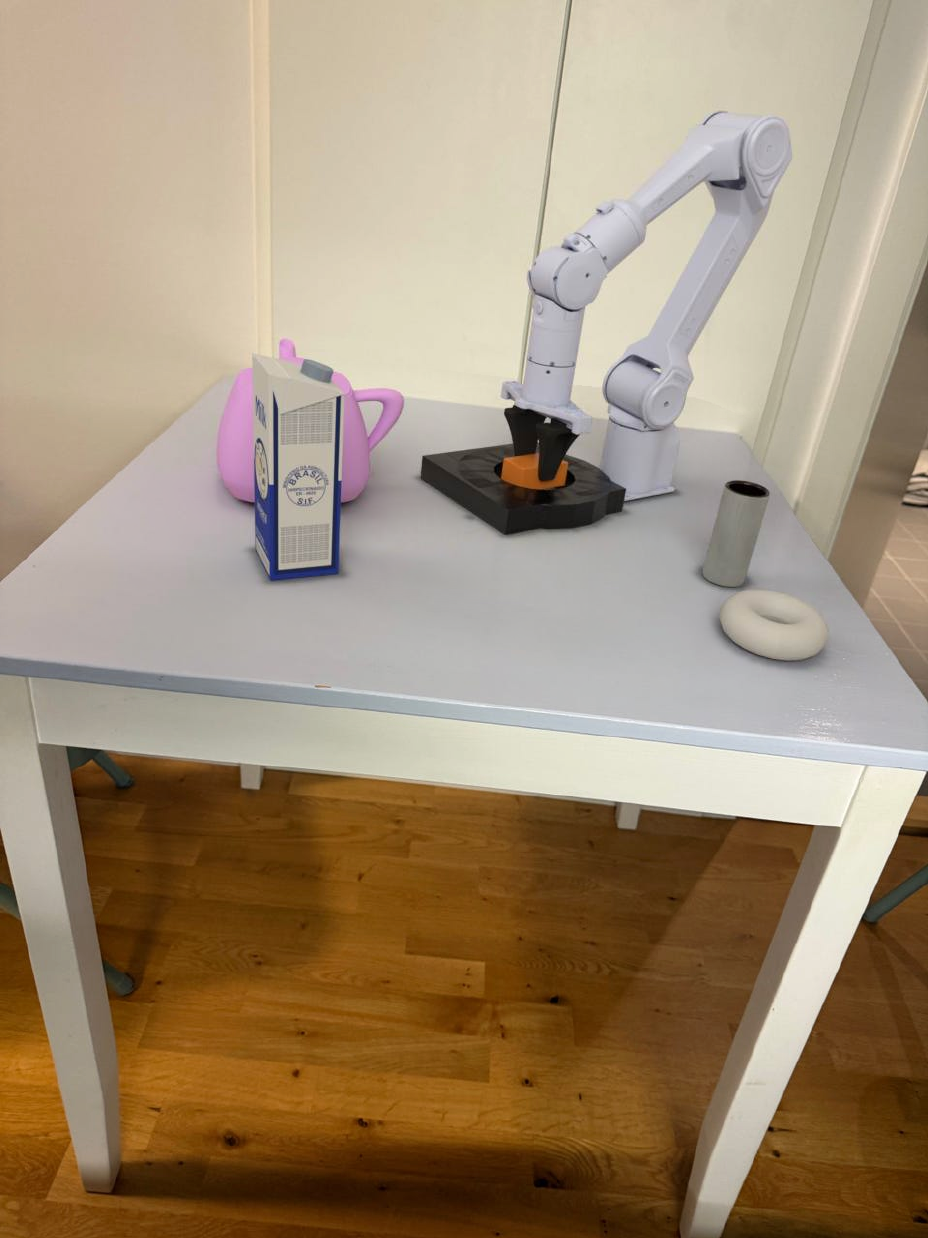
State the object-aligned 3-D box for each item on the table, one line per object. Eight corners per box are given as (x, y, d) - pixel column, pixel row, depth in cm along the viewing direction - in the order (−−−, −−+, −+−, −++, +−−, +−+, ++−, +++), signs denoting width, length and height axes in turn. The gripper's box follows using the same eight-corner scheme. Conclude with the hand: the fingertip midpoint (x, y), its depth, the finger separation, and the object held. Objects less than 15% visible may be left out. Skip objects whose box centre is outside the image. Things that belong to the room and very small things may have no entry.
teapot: (409, 517, 101) (419, 386, 94) (216, 517, 96) (211, 377, 89) (381, 448, 120) (387, 333, 113) (219, 444, 115) (214, 324, 108)
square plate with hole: (540, 460, 123) (543, 439, 121) (639, 514, 109) (644, 491, 108) (420, 478, 112) (422, 455, 111) (513, 540, 99) (516, 515, 98)
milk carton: (254, 549, 91) (251, 350, 81) (319, 543, 93) (324, 350, 84) (270, 581, 85) (269, 372, 75) (339, 574, 88) (346, 371, 78)
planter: (745, 574, 98) (771, 485, 92) (742, 591, 94) (769, 500, 89) (703, 564, 99) (727, 476, 94) (699, 581, 95) (723, 490, 90)
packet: (544, 474, 113) (548, 451, 112) (564, 485, 110) (568, 462, 109) (500, 481, 109) (503, 457, 108) (520, 493, 107) (523, 469, 105)
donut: (796, 616, 91) (701, 609, 89) (806, 586, 89) (710, 579, 87) (840, 671, 82) (736, 665, 81) (852, 639, 80) (747, 632, 79)
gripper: (486, 346, 105) (474, 456, 112) (565, 380, 95) (546, 498, 102) (533, 343, 109) (518, 449, 116) (613, 376, 99) (592, 490, 106)
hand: (534, 472), depth 109 cm, fingers closed on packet, 4 cm apart
